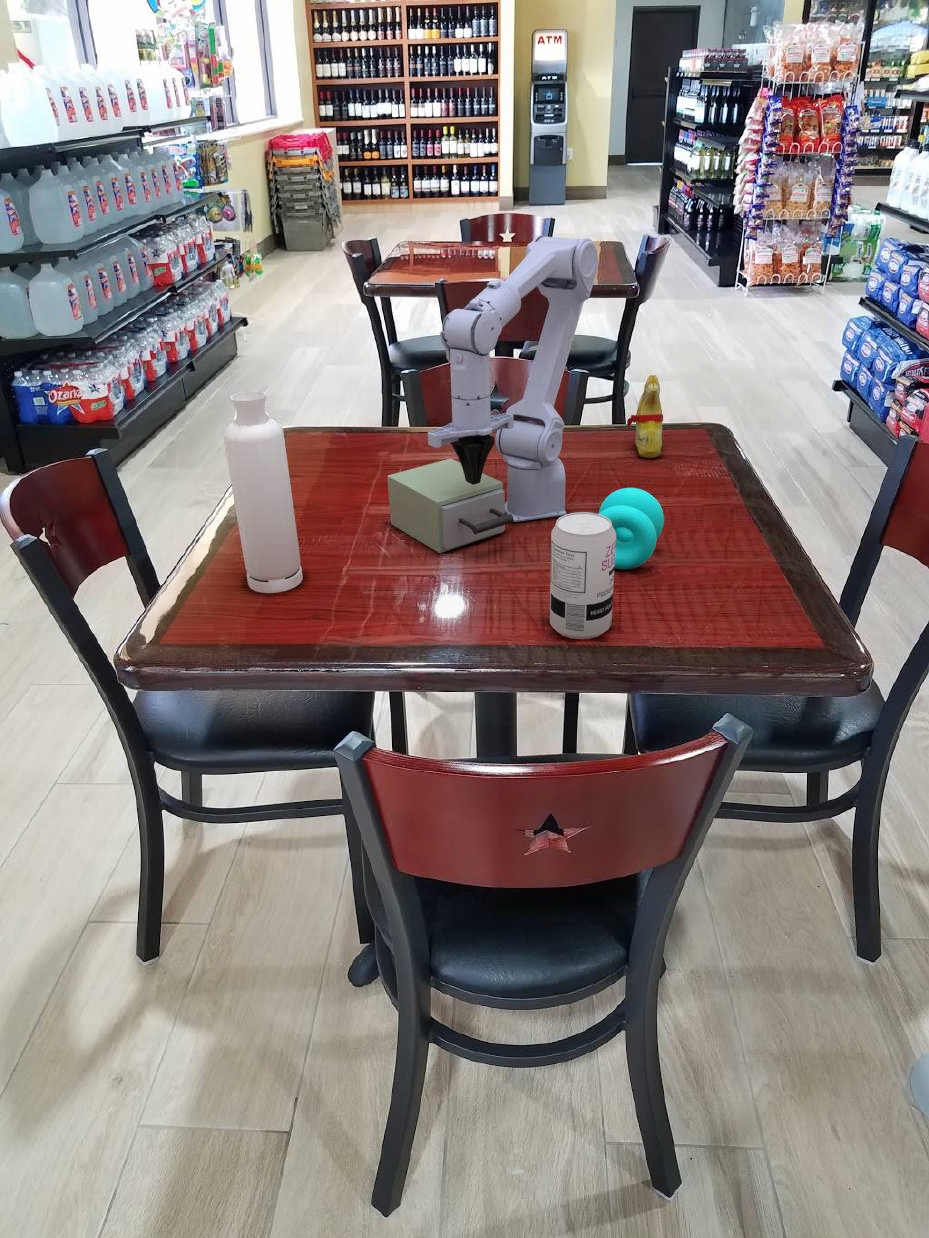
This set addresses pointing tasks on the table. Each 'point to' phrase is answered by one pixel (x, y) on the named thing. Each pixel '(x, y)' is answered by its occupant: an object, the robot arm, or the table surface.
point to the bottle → (262, 495)
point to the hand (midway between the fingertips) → (472, 482)
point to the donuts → (633, 525)
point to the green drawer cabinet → (431, 498)
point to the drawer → (474, 518)
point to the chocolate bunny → (649, 420)
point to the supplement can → (582, 575)
